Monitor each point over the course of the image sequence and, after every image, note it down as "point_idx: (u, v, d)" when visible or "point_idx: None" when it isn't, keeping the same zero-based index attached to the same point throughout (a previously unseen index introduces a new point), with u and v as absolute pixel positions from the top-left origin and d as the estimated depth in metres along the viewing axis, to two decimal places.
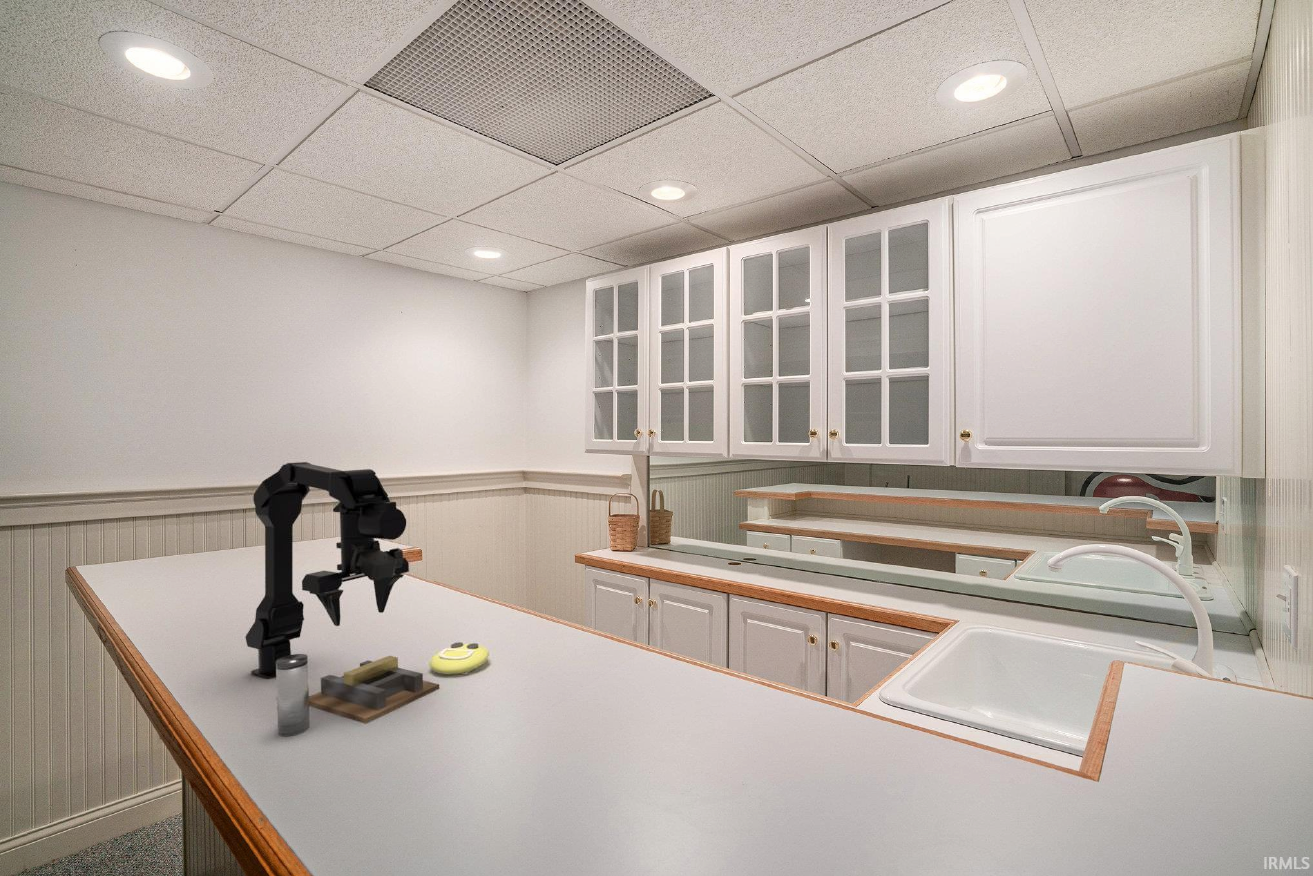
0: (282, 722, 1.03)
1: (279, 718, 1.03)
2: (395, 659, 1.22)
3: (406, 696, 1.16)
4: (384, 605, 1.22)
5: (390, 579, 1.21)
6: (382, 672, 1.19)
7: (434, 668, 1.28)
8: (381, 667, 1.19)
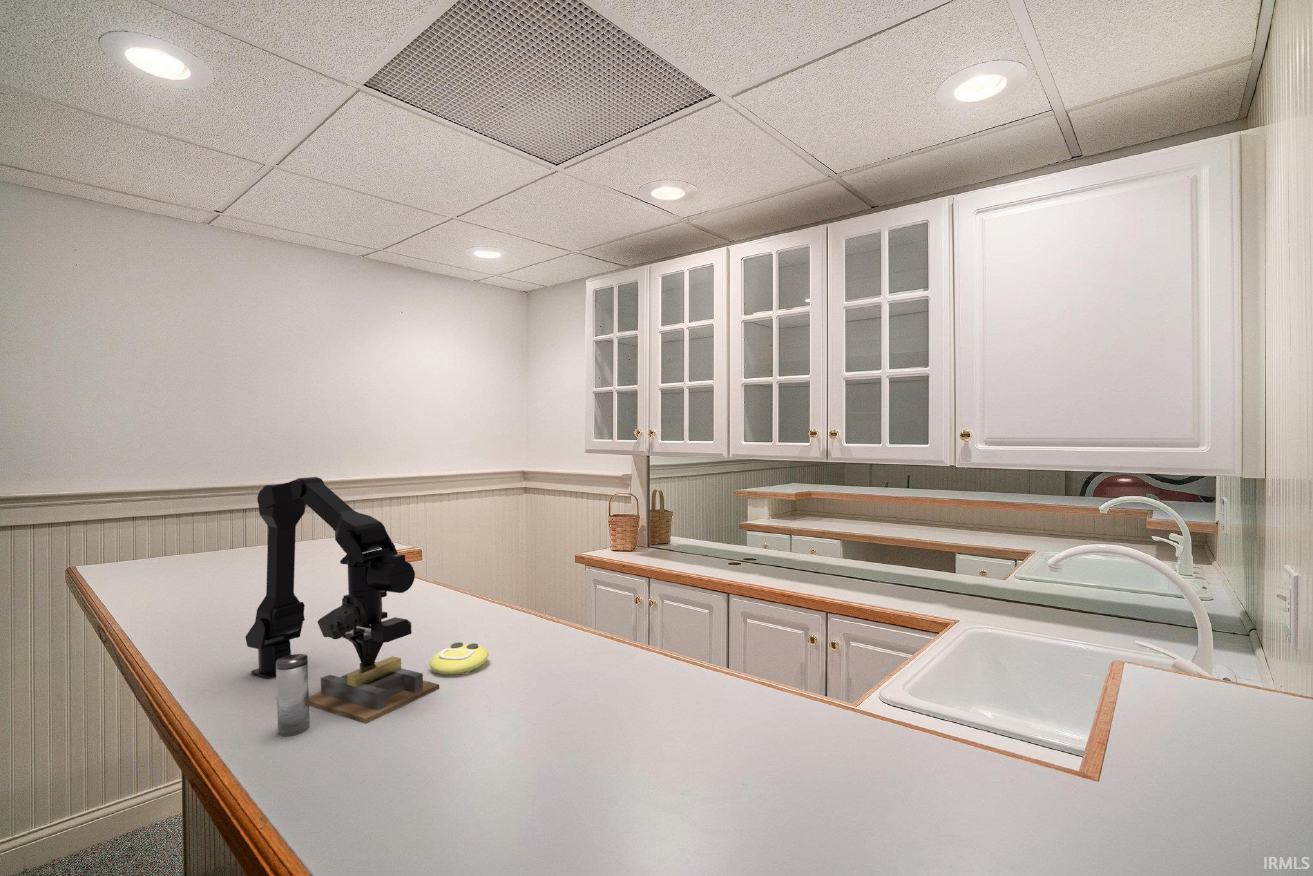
0: (282, 722, 1.03)
1: (279, 718, 1.03)
2: (398, 660, 1.21)
3: (406, 696, 1.16)
4: (365, 664, 1.18)
5: None
6: (385, 673, 1.19)
7: (434, 668, 1.28)
8: (384, 668, 1.18)
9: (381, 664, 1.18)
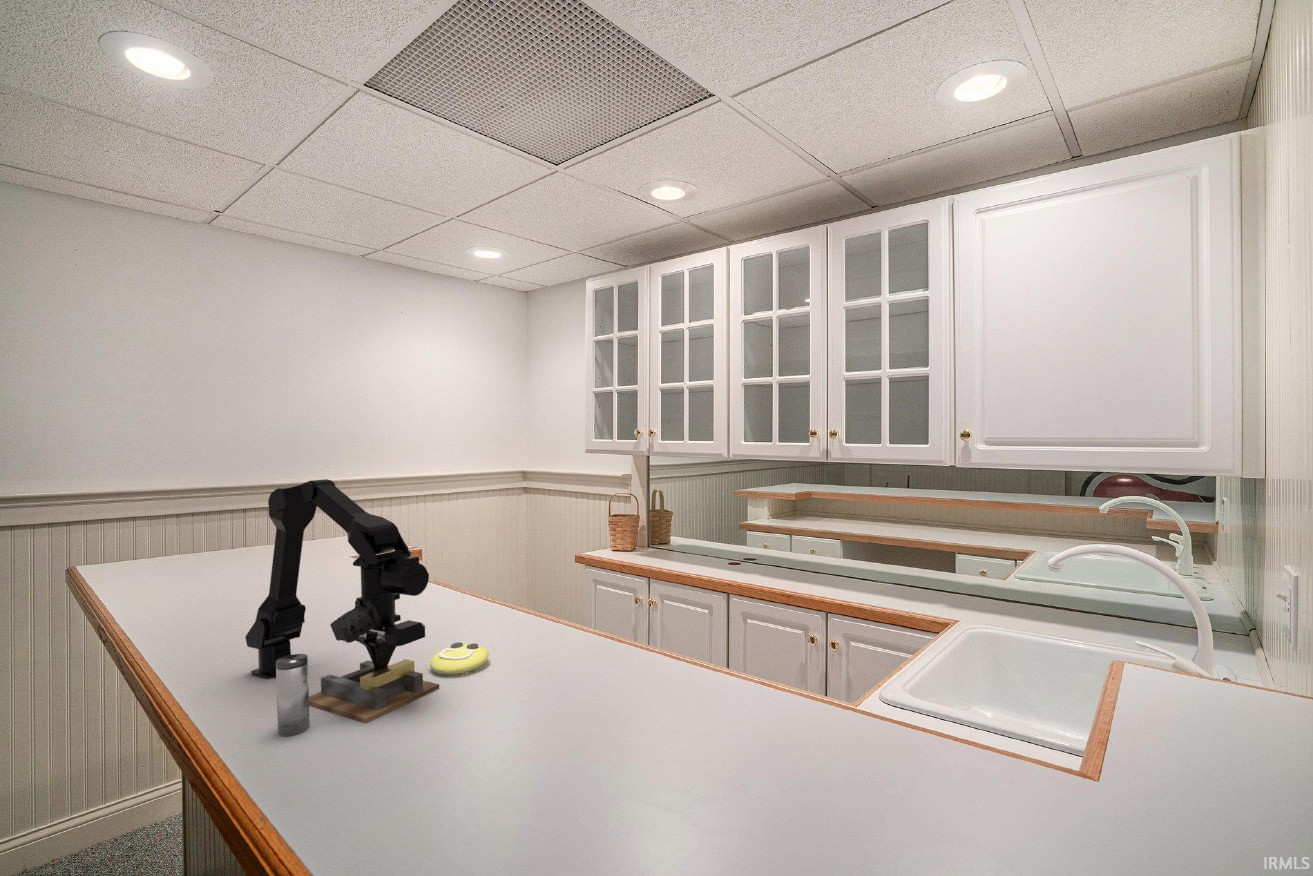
0: (282, 722, 1.03)
1: (279, 718, 1.03)
2: (411, 663, 1.19)
3: (406, 696, 1.16)
4: (377, 667, 1.16)
5: None
6: (399, 676, 1.17)
7: (434, 668, 1.27)
8: (398, 671, 1.17)
9: (394, 667, 1.17)
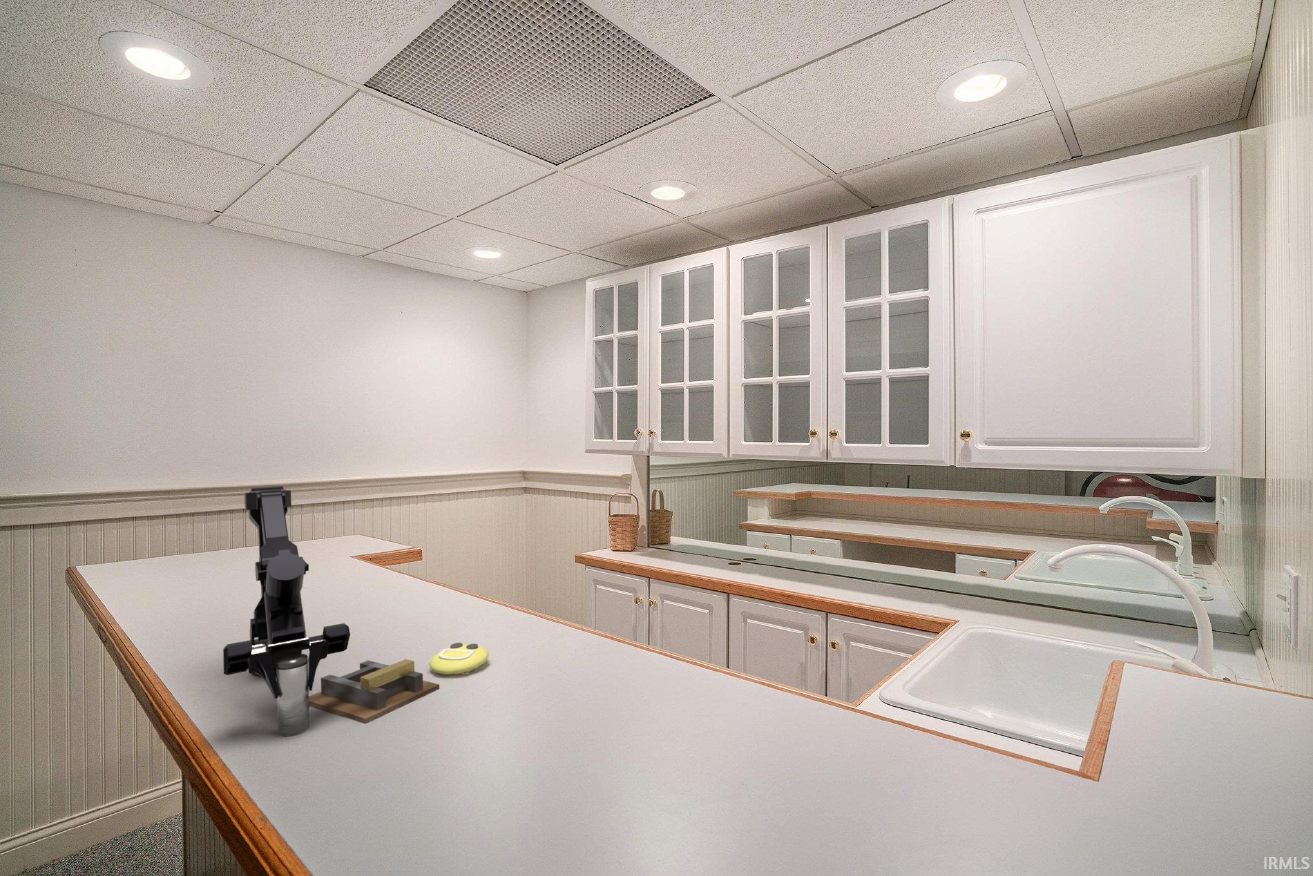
0: (282, 722, 1.03)
1: (279, 718, 1.03)
2: (411, 663, 1.19)
3: (406, 696, 1.16)
4: None
5: None
6: (399, 676, 1.17)
7: (434, 668, 1.27)
8: (398, 671, 1.17)
9: (394, 667, 1.17)
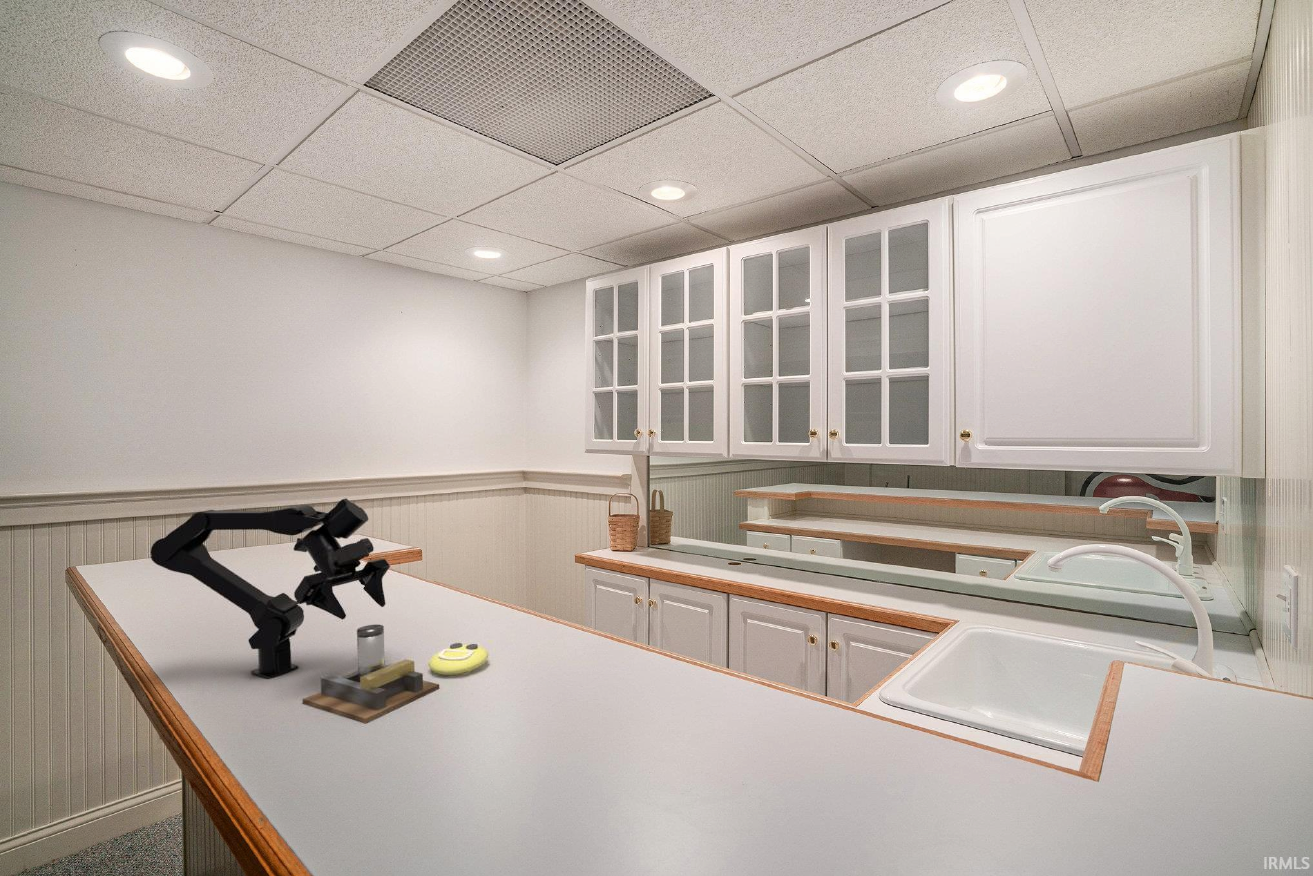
0: None
1: None
2: (411, 663, 1.19)
3: (406, 696, 1.16)
4: (382, 597, 1.31)
5: (375, 573, 1.33)
6: (399, 676, 1.17)
7: (433, 669, 1.27)
8: (398, 671, 1.17)
9: (394, 667, 1.17)
